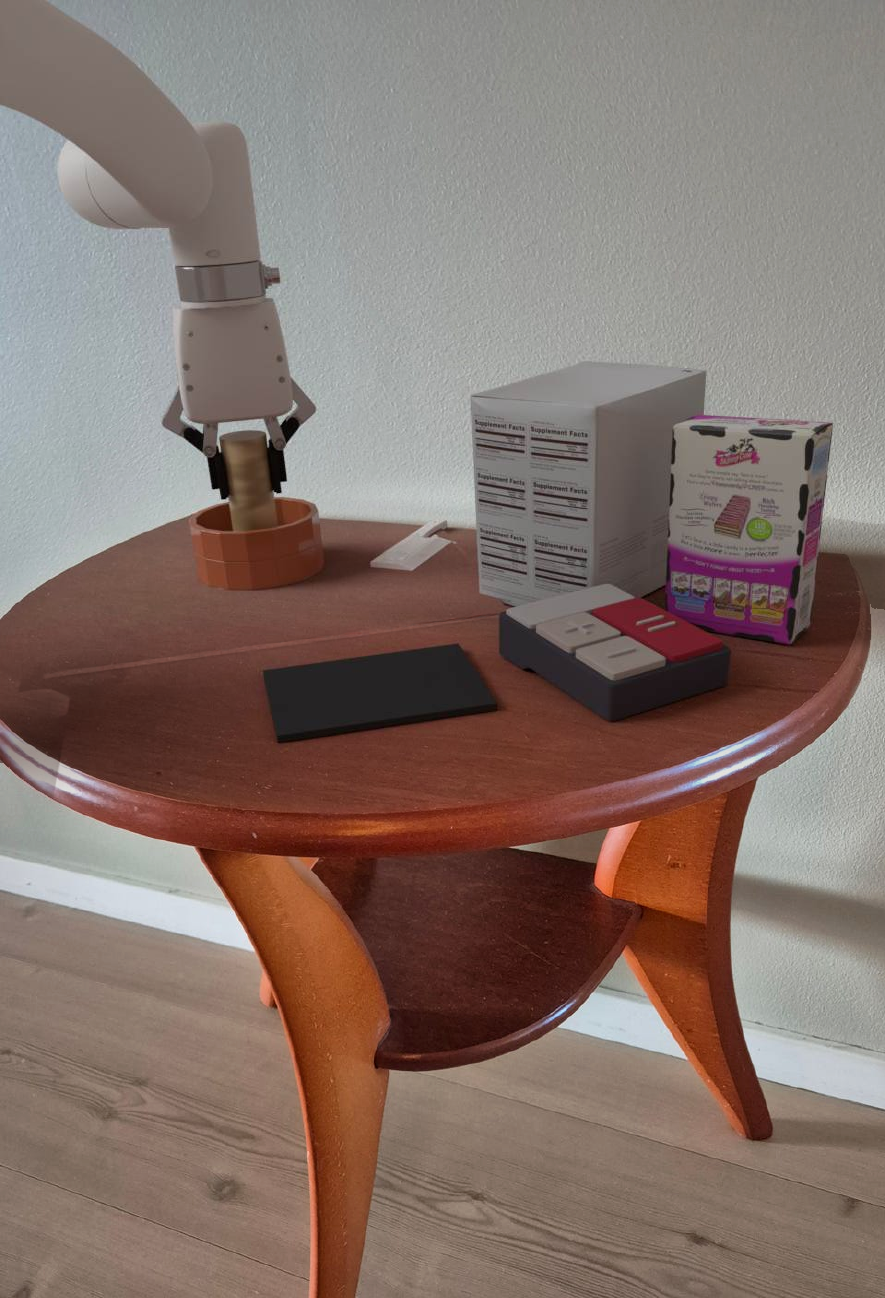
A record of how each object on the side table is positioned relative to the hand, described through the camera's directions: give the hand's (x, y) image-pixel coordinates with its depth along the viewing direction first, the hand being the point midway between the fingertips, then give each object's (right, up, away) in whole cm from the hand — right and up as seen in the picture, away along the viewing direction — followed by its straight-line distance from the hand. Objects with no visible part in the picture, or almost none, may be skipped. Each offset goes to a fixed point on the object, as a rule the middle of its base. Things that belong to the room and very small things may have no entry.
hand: (250, 491), depth 105 cm
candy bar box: (+43, -15, -14) cm, 48 cm away
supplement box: (+32, -10, -4) cm, 34 cm away
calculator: (+31, -20, -21) cm, 42 cm away
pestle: (0, -7, +4) cm, 8 cm away
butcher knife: (+17, -4, +8) cm, 19 cm away
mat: (+13, -21, -22) cm, 34 cm away
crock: (0, -7, +4) cm, 8 cm away
